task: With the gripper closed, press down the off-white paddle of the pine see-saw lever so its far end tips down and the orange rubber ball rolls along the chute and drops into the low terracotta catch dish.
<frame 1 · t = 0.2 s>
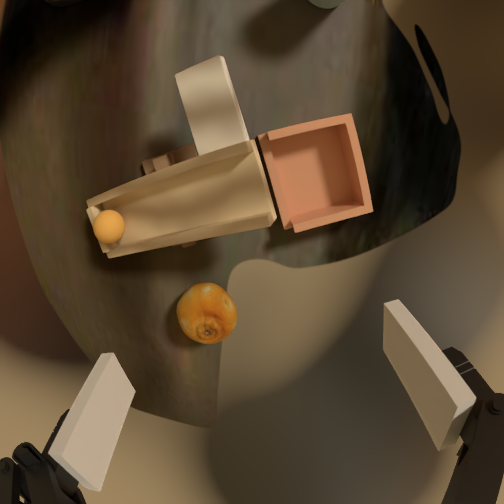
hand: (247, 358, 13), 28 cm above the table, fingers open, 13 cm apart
fruit: (209, 301, 44), on the table
ball: (108, 226, 33), point 6 cm above the table, tilted 6°, touching lever
fulcrum: (182, 195, 38), on the table
dish: (311, 170, 37), on the table
lever: (153, 167, 30), point 7 cm above the table, hinge at 19.0°, touching ball
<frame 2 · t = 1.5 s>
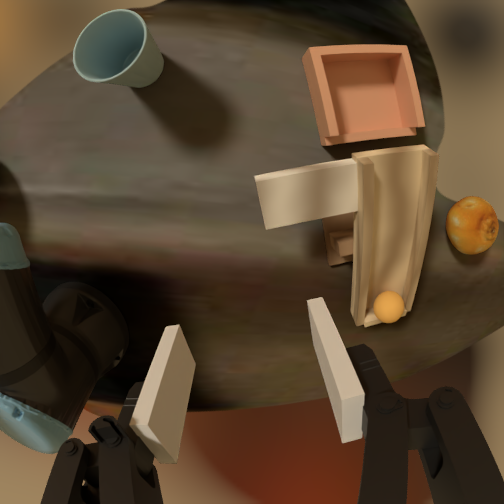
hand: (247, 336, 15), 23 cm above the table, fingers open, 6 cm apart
fruit: (458, 219, 37), on the table
ball: (388, 306, 34), point 6 cm above the table, tilted 6°, touching lever
fulcrum: (368, 228, 37), on the table
dish: (358, 95, 31), on the table
cup: (143, 67, 30), on the table
lever: (354, 257, 31), point 7 cm above the table, hinge at 19.0°, touching ball
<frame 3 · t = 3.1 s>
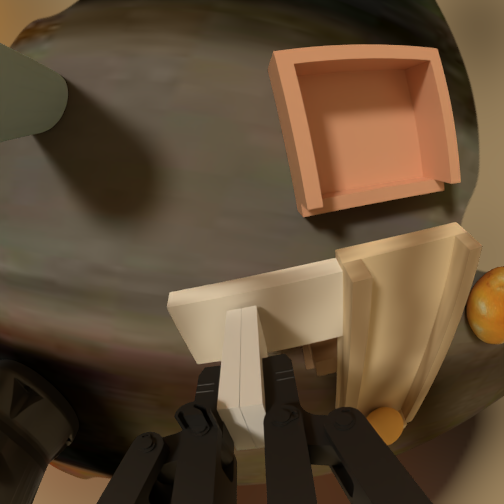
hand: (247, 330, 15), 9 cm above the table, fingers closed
fruit: (482, 291, 26), on the table
ball: (383, 426, 23), point 7 cm above the table, touching lever
fulcrum: (363, 321, 26), on the table
dish: (359, 127, 21), on the table
cup: (45, 102, 19), on the table
lever: (335, 387, 20), point 7 cm above the table, hinge at 13.8°, touching ball, gripper
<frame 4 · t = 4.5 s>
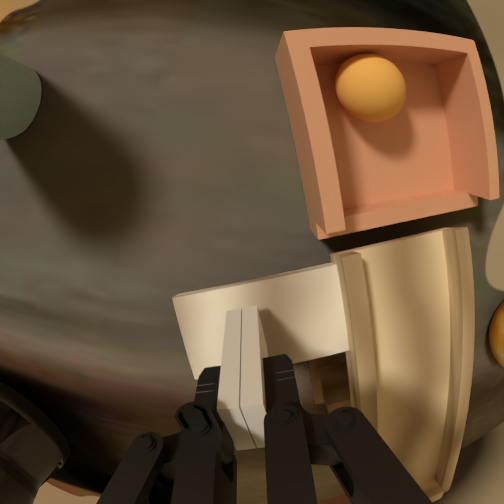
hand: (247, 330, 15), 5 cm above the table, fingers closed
ball: (370, 87, 14), point 2 cm above the table, tilted 155°, touching dish
fulcrum: (380, 351, 22), on the table
dish: (384, 130, 17), on the table
cup: (18, 102, 15), on the table
lever: (350, 429, 16), point 7 cm above the table, hinge at -16.0°, touching gripper
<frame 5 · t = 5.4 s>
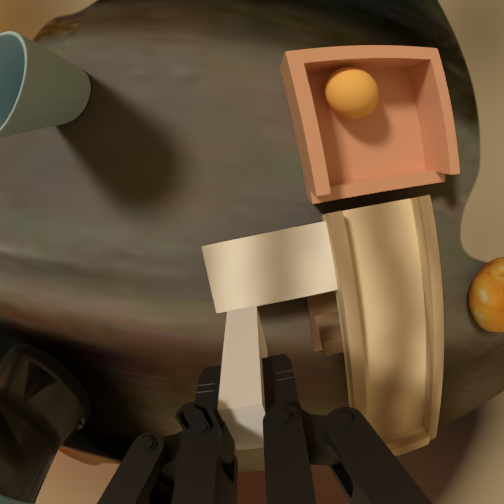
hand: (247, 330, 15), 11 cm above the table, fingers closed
fruit: (484, 281, 27), on the table
ball: (352, 92, 19), point 2 cm above the table, tilted 150°, touching dish
fulcrum: (369, 305, 28), on the table
dish: (365, 122, 22), on the table
cup: (68, 95, 21), on the table
lever: (341, 360, 21), point 7 cm above the table, hinge at -16.0°
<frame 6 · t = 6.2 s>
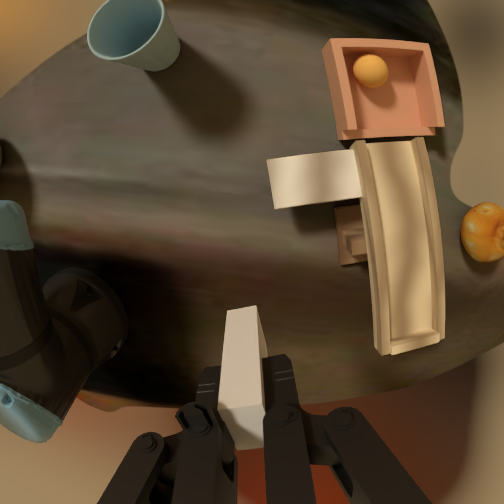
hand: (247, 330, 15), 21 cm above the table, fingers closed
fruit: (473, 225, 35), on the table
ball: (370, 70, 27), point 2 cm above the table, tilted 145°, touching dish
fulcrum: (382, 229, 35), on the table
dish: (378, 91, 30), on the table
cup: (158, 51, 29), on the table
lever: (366, 251, 29), point 7 cm above the table, hinge at -16.0°
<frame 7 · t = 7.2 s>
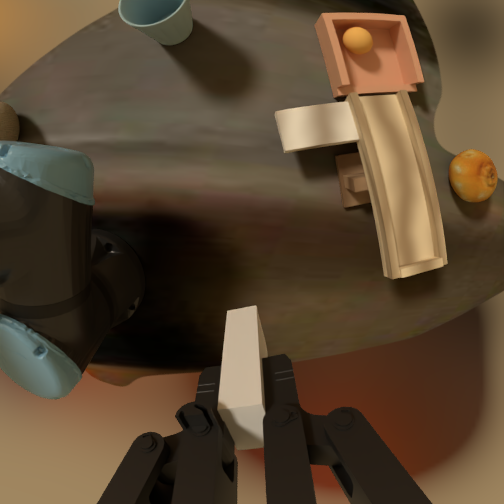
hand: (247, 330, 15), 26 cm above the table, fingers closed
fruit: (460, 172, 38), on the table
ball: (357, 40, 30), point 2 cm above the table, tilted 139°, touching dish
fulcrum: (378, 174, 39), on the table
dish: (365, 57, 33), on the table
cup: (173, 29, 31), on the table
fruit 2: (9, 131, 34), on the table
lever: (368, 184, 32), point 7 cm above the table, hinge at -16.0°
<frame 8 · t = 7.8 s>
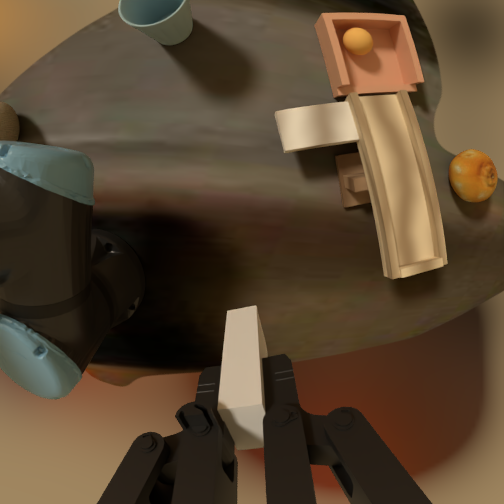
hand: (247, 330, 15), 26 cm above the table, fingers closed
fruit: (460, 172, 38), on the table
ball: (357, 41, 30), point 2 cm above the table, tilted 136°, touching dish
fulcrum: (378, 174, 39), on the table
dish: (365, 57, 33), on the table
cup: (173, 29, 31), on the table
fruit 2: (9, 131, 34), on the table
lever: (368, 184, 32), point 7 cm above the table, hinge at -16.0°
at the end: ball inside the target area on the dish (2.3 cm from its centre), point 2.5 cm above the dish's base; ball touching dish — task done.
